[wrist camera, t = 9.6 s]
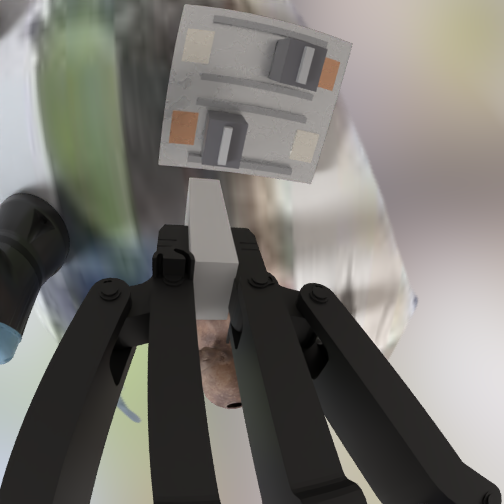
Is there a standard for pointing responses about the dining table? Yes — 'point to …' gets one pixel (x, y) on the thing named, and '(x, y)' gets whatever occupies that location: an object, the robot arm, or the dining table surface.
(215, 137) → the block
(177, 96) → the switch unit
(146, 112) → the dining table surface
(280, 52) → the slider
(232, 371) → the clay figurine
